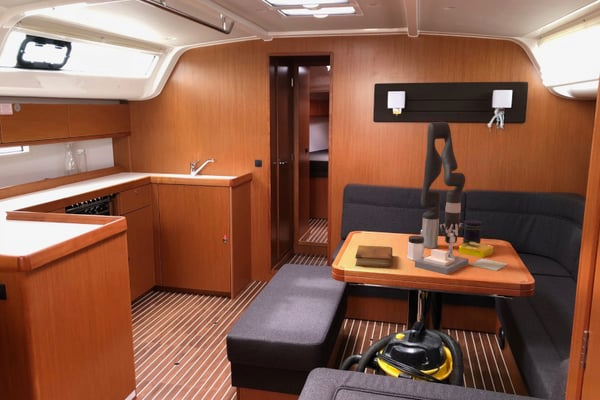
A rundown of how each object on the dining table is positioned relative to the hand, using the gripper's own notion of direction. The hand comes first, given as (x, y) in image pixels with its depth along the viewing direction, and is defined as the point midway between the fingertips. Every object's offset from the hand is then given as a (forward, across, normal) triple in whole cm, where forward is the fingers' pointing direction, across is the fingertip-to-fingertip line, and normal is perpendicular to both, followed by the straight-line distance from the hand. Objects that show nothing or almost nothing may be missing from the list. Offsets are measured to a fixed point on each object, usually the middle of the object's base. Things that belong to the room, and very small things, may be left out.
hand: (451, 242), depth 255 cm
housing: (+11, -8, -5) cm, 14 cm away
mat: (+11, +17, -10) cm, 22 cm away
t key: (+7, -1, -2) cm, 7 cm away
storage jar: (+11, +30, +27) cm, 42 cm away
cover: (+8, -10, -7) cm, 14 cm away
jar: (+11, -15, +10) cm, 21 cm away
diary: (+11, -38, +11) cm, 41 cm away
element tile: (+11, +24, +13) cm, 29 cm away
